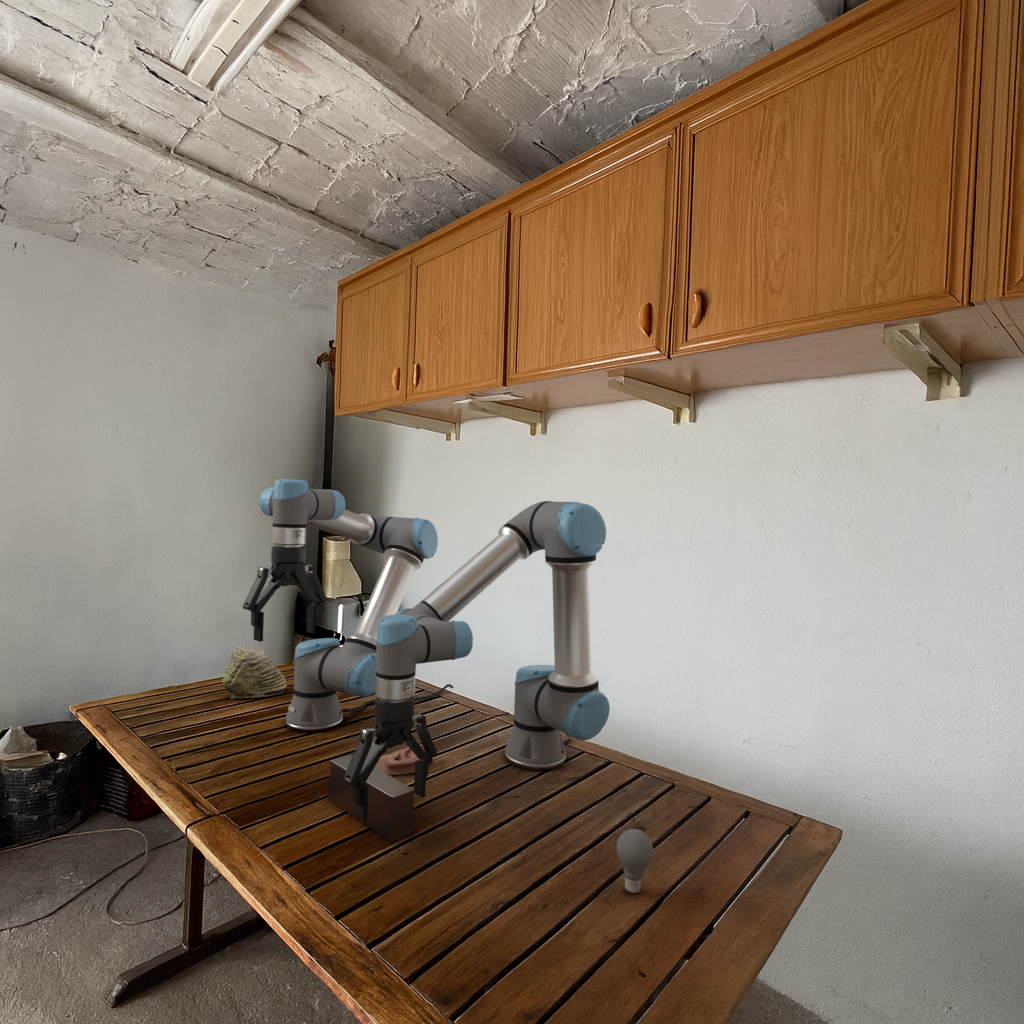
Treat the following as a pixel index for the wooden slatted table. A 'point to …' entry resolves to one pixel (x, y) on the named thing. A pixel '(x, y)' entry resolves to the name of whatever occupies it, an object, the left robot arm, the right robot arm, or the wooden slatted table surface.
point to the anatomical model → (398, 762)
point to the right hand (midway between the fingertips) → (391, 806)
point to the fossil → (252, 674)
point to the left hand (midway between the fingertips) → (285, 636)
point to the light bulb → (634, 857)
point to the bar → (375, 800)
